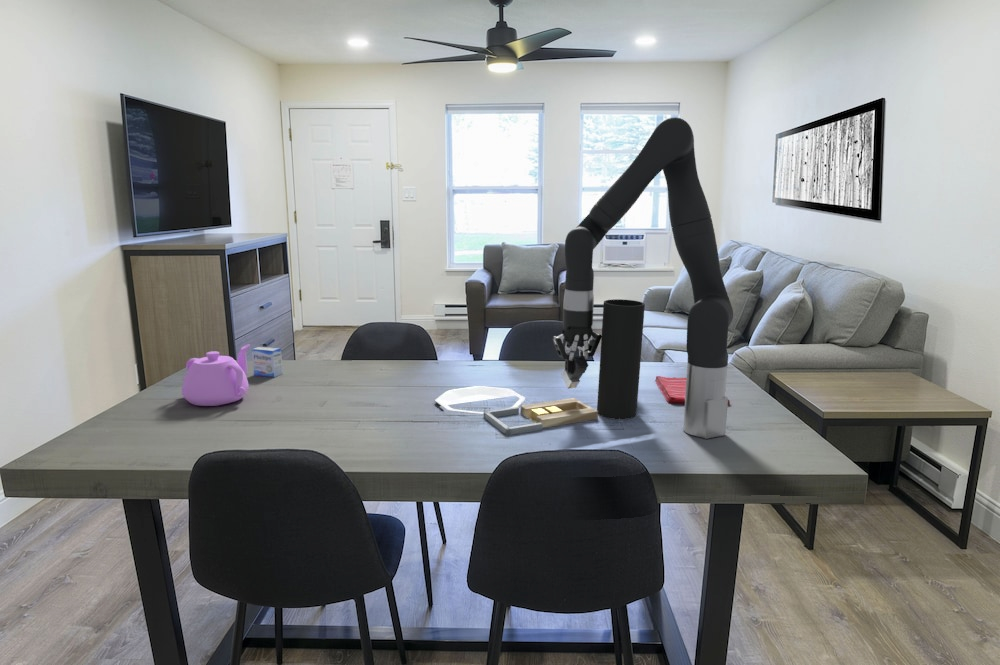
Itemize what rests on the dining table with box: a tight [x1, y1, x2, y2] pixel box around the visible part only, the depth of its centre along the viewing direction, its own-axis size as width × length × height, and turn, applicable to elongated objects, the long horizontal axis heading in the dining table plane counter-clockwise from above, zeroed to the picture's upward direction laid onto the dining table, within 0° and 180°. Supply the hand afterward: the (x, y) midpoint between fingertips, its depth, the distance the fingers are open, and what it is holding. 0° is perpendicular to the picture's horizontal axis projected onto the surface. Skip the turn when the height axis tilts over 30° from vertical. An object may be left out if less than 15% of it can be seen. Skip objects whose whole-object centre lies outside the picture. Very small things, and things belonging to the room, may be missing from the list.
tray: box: [483, 407, 543, 436], centre depth 164 cm, size 14×10×2 cm
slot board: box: [520, 397, 599, 429], centre depth 169 cm, size 12×16×3 cm
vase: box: [596, 298, 646, 420], centre depth 169 cm, size 10×10×30 cm
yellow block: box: [545, 406, 563, 414], centre depth 169 cm, size 4×3×2 cm
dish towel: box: [654, 375, 731, 406], centre depth 193 cm, size 17×24×3 cm
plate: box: [434, 385, 526, 415], centre depth 183 cm, size 24×24×2 cm
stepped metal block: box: [561, 355, 589, 389], centre depth 170 cm, size 4×3×9 cm
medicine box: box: [251, 346, 283, 378], centre depth 210 cm, size 8×4×9 cm, turn 73°
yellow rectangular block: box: [531, 408, 549, 421], centre depth 167 cm, size 4×3×2 cm
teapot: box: [181, 343, 251, 407], centre depth 186 cm, size 22×22×14 cm
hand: (575, 372), depth 169 cm, fingers closed on stepped metal block, 3 cm apart
